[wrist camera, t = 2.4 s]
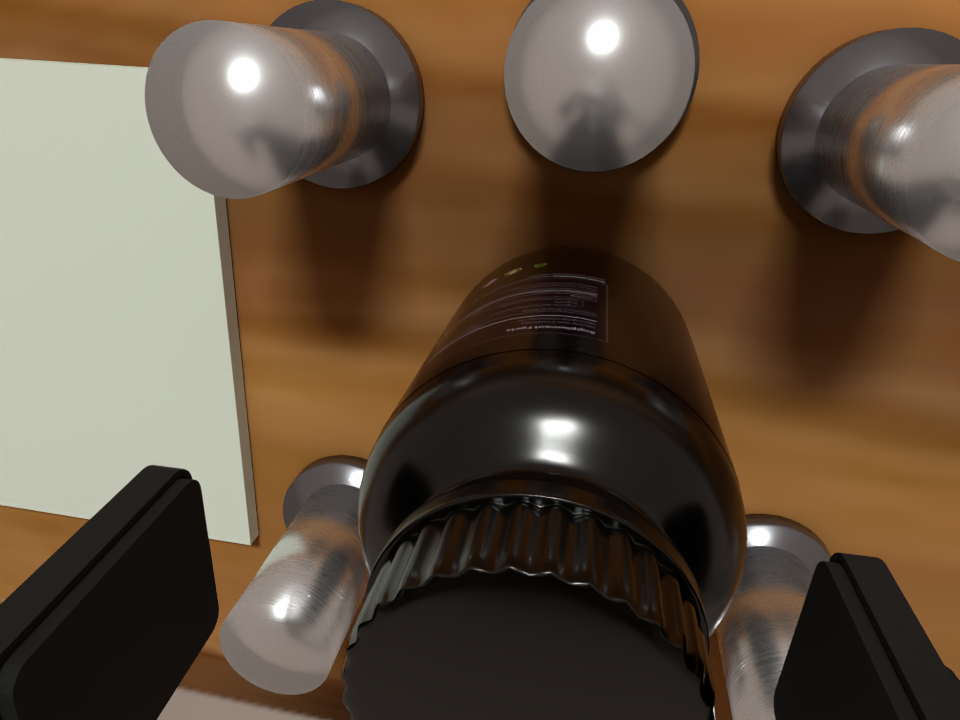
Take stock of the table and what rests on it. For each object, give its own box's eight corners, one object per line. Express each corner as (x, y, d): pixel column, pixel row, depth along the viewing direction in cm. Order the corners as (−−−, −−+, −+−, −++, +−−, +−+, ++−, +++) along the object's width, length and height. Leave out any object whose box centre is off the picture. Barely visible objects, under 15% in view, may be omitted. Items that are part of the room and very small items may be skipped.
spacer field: (1033, -19, 14) (1293, -67, 9) (804, 660, 22) (868, 854, 17) (249, -50, 17) (77, -103, 11) (296, 576, 25) (207, 722, 19)
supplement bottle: (724, 424, 19) (871, 882, 9) (504, 484, 22) (401, 917, 11) (645, 197, 17) (708, 425, 7) (410, 289, 19) (163, 578, 9)
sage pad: (212, 71, 18) (201, 71, 17) (258, 534, 24) (250, 545, 23) (-269, 40, 20) (-293, 40, 19) (-113, 475, 26) (-128, 484, 25)
